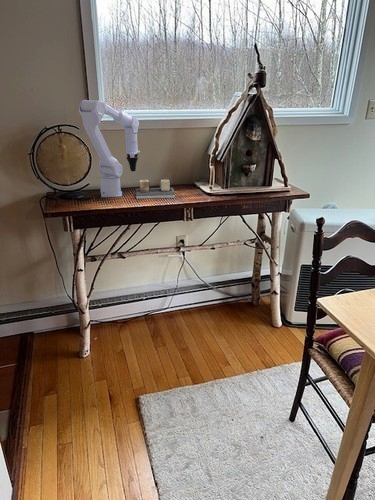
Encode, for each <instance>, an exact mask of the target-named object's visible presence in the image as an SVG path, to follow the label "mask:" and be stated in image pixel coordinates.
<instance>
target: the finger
mask: <svg viewBox="0 0 375 500" xmlns="http://www.w3.org/2000/svg"><path fill="white" fill-rule="evenodd" d="M139 186H140V187H139V189H140V192H149V191H150V187H151V186H150V181H149V179H140V180H139Z"/></svg>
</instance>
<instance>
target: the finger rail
mask: <svg viewBox="0 0 375 500" xmlns="http://www.w3.org/2000/svg"><path fill="white" fill-rule="evenodd" d="M135 196H136V200H139V199H140V200H141V199H168V198H169V199H171V198H172V199H173V198H174V199H175V189H174V188H173V187H171V183H170V179H160V181H159V187H157V188H156V187H155V188H153V187H152V188H150V191H149V192H140V188H136V189H135Z"/></svg>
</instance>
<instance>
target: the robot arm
mask: <svg viewBox="0 0 375 500" xmlns="http://www.w3.org/2000/svg"><path fill="white" fill-rule="evenodd" d="M78 112H79V114H80V117H81V119H82V120H81V121H82V125H83V128H84V131H85V132H86V134H87V136H88V139H90V142H91V144H92V146H93V148H94V150H95V152H96V154H97V155H98V158H99V161H98V166H99V171H100V173H101V175H102V176H101V177H99V178H100V179H99V187H100V195H101V197H100V198H120V197H122V196H123V191H122V189H121V179H120V178H121V177H122V174H123V173H124V168H123V165H122V164H121V163H120V162H119V160H118V159H116V157H114V156H113V155H112V153H111V151H110V149H109V146H108V145H107V142H106V140H105V138H104V136H103V133H102V131H101V130H100V127H99V124H100V123H101V122H102V120H103V117H104V116H105V115H106V116H109V117H111V118H112V119H113V121H114V122H115V123H118V124H120V125H121V127H122V128H124V135H125V136H124V137H125V153H126V160H127V162H128V165H129V169H130V172H136V168H137V163H138V159H139V154H140V153H141V151H140V150H139V149H138V147H139V146H138V133H139V132H138V131H139V126H140V122H139V119H138V118H137V117H136V116H133V115H131V114H130V113H127V112H126V111H124V109H121V108H120V109H115V108H113V107H111V106H110V105H109V104H107V103H106V101H102V100H100V99H98V100H97V99H96V100H93V99H90V100H88V99H83V100H81V101H80V102H79V107H78ZM137 153H138V154H137Z"/></svg>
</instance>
